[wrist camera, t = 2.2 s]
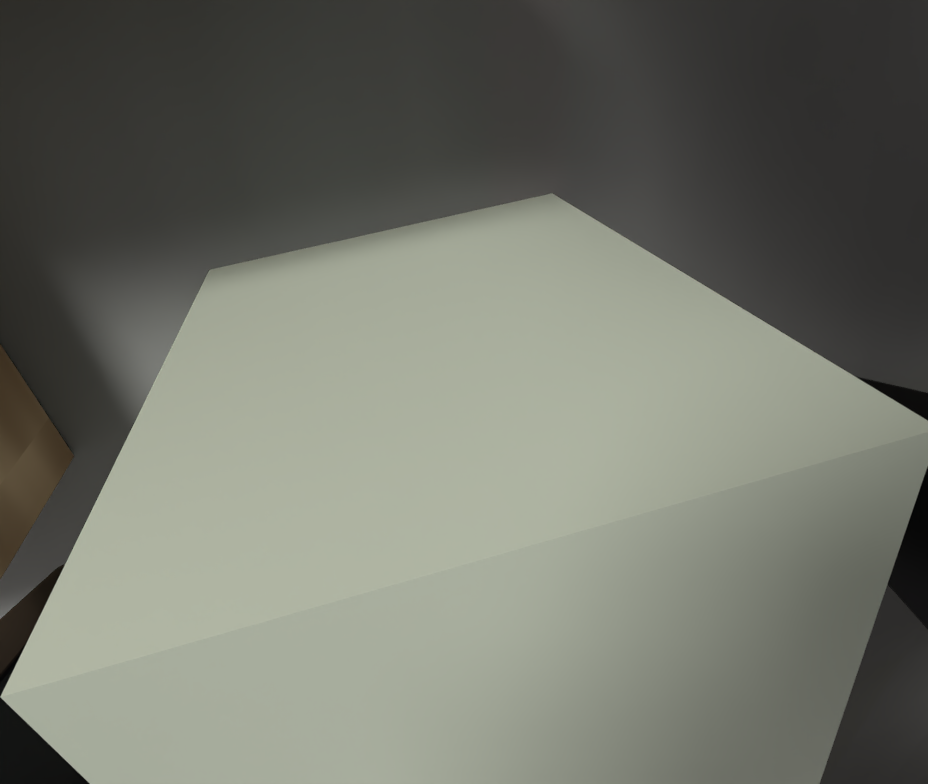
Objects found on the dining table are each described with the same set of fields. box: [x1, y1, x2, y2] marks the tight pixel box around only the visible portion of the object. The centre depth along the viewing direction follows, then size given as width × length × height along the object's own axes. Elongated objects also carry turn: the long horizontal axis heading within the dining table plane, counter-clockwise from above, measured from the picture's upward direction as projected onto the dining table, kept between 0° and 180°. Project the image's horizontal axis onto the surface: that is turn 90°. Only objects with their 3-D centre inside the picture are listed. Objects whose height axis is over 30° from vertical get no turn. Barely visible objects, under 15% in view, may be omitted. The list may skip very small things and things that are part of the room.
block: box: [1, 193, 928, 784], centre depth 8 cm, size 6×6×7 cm
